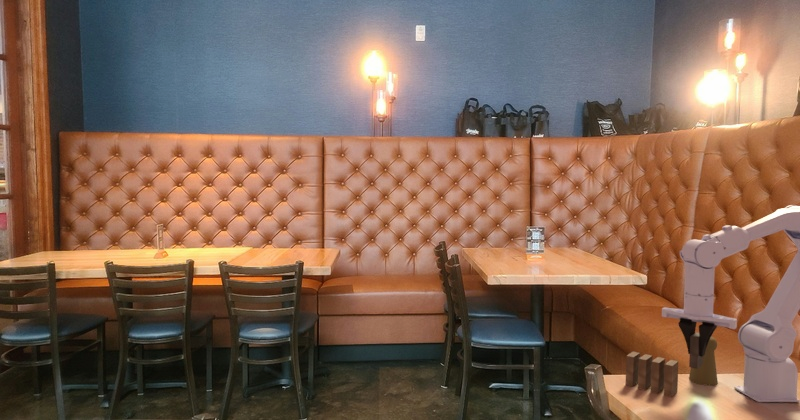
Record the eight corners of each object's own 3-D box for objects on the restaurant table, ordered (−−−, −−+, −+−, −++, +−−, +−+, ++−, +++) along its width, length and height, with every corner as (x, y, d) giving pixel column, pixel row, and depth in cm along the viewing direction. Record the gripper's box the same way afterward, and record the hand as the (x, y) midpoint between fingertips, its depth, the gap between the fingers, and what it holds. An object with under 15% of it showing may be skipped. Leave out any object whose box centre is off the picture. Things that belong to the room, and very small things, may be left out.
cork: (722, 386, 122) (723, 340, 121) (693, 384, 123) (695, 338, 122) (712, 377, 128) (713, 333, 127) (685, 375, 129) (686, 331, 128)
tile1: (702, 364, 117) (704, 333, 116) (697, 368, 113) (698, 337, 113) (694, 362, 118) (696, 332, 118) (689, 367, 115) (690, 335, 114)
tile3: (664, 388, 120) (665, 358, 120) (658, 393, 117) (659, 363, 117) (656, 386, 121) (657, 356, 121) (650, 391, 118) (651, 361, 118)
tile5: (639, 381, 124) (640, 352, 124) (632, 386, 121) (633, 357, 121) (632, 379, 125) (633, 351, 125) (625, 384, 122) (626, 355, 122)
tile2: (677, 391, 118) (678, 361, 118) (671, 396, 115) (672, 365, 115) (669, 389, 120) (670, 359, 119) (663, 394, 116) (664, 364, 116)
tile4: (651, 384, 122) (652, 355, 122) (645, 390, 119) (646, 360, 119) (644, 383, 123) (645, 354, 123) (637, 388, 120) (638, 358, 120)
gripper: (657, 291, 117) (655, 350, 118) (732, 301, 107) (729, 366, 108) (668, 287, 122) (666, 344, 123) (740, 297, 112) (737, 358, 113)
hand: (696, 354), depth 116 cm, fingers closed on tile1, 1 cm apart
